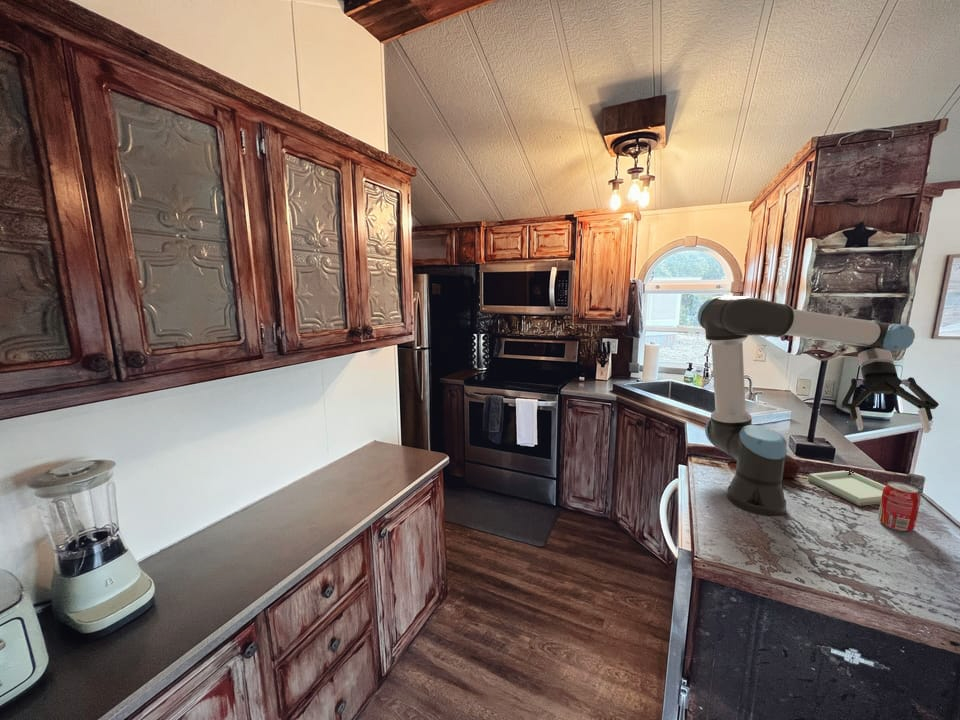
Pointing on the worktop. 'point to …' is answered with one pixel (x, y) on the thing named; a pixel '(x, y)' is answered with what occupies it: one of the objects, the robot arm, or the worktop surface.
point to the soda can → (899, 506)
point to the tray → (849, 486)
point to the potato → (790, 467)
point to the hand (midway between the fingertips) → (893, 430)
